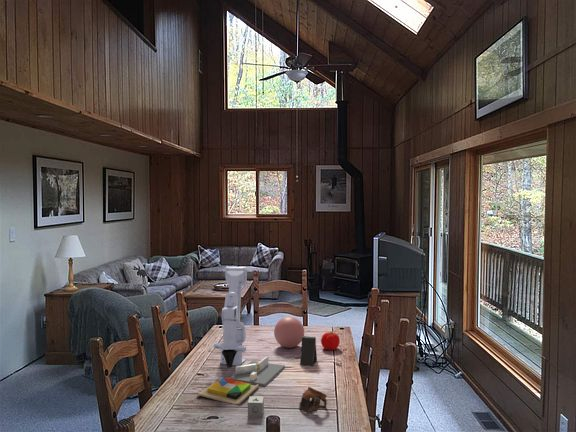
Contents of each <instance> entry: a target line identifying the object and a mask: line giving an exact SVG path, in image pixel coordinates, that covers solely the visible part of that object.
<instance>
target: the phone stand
mask: <svg viewBox="0 0 576 432" xmlns="http://www.w3.org/2000/svg"><path fill="white" fill-rule="evenodd" d="M316 340H317V339H316V336H309V335H308V336H305V335H304V336H303V337H302V341H301V347H300V348H301V350H300V361H299V362H300V363H299V365H300V366H303V367H304V366H305V367H314V366H315V364H316V362H317V360H318V355H317V345H316V343H317V341H316Z"/></svg>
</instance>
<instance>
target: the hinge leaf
mask: <svg viewBox="0 0 576 432" xmlns="http://www.w3.org/2000/svg"><path fill="white" fill-rule="evenodd" d="M248 364H249V363H248ZM248 364H245V365H243V364H242V365H239V366H234V367H235V368H234V369H235V372H234V373H235V374H236V375H239V374H245V373H252V372H256V369H259V366H257V367H256V364H249V365H248Z"/></svg>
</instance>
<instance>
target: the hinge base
mask: <svg viewBox="0 0 576 432" xmlns="http://www.w3.org/2000/svg"><path fill="white" fill-rule="evenodd" d="M249 364H256V367H257V366H259V369H256V372H252V373H245V374H239V375H236V374H233V375H232V376H230V377H229V378H230V379H233V380H236V381H241V382H245V383H249V384H251V385H254V386H256V385H257V384H258V385H259V386H260V387H266V386H267V385H268V384H269V383H270V382H272V380H273V379H274V378H276V377H277V376H278V375H279V374H280V372H283V370H284V369H285V365H284V364H278V363H277V364H276V363H270V362H269V356H267V355H266V356H265V357H264V358H262V359H260V361H255V360H251V361H250V362H249V363H248V364H247V365H249Z"/></svg>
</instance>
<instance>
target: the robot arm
mask: <svg viewBox="0 0 576 432" xmlns="http://www.w3.org/2000/svg"><path fill="white" fill-rule="evenodd" d="M224 269H225V270H224V277H225V281H226V285H227V286H228V293H226V294H225V298H224V299H225V300H224V306H223V308H222V309H221V323H222V342H215V343H213V349H215V350H216V349H219V350H220V362H219V364H223V365H226V366H227V367H226V368H229V369H230V368H232V367H233V366H234V367H236V366H241V365H243V363H244V362H246V358H243V353H245V352H247V346H244V345H243V343H245V341H246V334H247V333H246V326H245V324H244V323H243V322H242V321H241V305H242V303H241V302H242V290H243V287H244V286H246V285H247V281H248V279H247V278H248V268H247V266H226V267H225V268H224Z"/></svg>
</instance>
